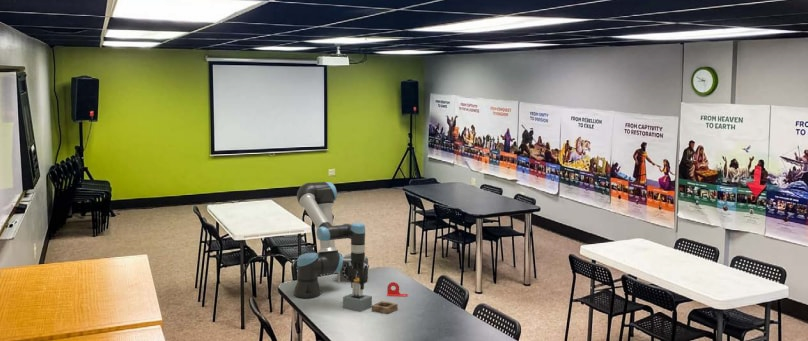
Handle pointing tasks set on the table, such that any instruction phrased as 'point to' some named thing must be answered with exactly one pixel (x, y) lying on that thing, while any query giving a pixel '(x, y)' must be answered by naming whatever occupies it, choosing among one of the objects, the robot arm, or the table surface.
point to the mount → (384, 307)
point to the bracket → (394, 292)
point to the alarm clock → (344, 270)
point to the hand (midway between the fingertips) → (357, 294)
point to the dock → (357, 302)
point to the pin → (356, 288)
